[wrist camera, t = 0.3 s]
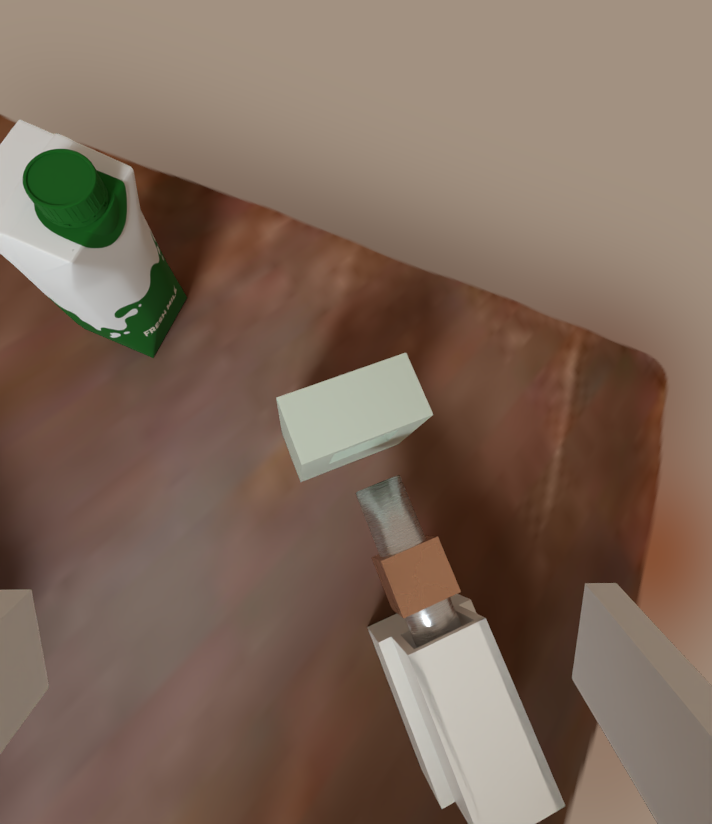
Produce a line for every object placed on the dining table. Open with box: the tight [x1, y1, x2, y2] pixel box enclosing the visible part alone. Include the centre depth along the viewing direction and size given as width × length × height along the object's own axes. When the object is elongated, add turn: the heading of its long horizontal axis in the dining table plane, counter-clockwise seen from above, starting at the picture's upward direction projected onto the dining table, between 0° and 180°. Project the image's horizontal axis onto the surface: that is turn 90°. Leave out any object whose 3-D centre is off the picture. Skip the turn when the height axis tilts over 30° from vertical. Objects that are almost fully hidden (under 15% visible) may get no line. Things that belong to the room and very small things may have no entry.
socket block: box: [276, 353, 433, 482], centre depth 41 cm, size 5×10×13 cm, turn 112°
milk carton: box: [0, 120, 187, 358], centre depth 38 cm, size 9×9×20 cm
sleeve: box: [367, 594, 565, 824], centre depth 37 cm, size 12×8×12 cm, turn 22°
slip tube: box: [356, 475, 462, 648], centre depth 35 cm, size 19×4×4 cm, turn 22°
